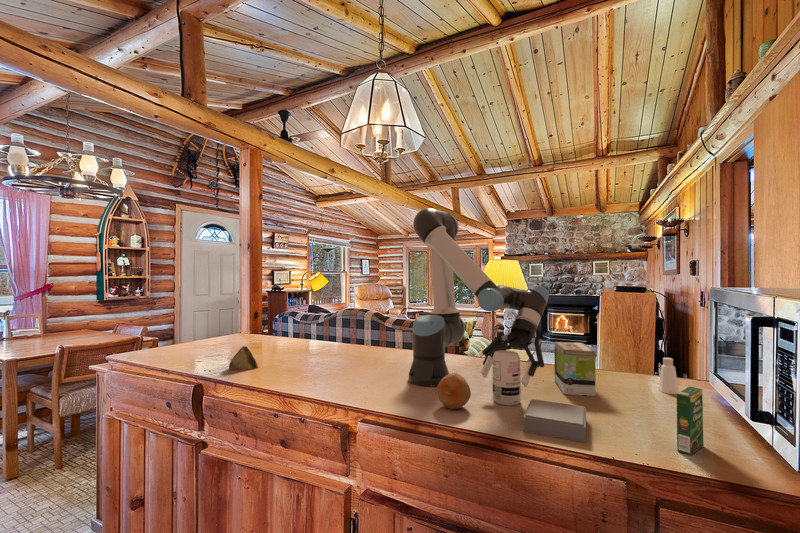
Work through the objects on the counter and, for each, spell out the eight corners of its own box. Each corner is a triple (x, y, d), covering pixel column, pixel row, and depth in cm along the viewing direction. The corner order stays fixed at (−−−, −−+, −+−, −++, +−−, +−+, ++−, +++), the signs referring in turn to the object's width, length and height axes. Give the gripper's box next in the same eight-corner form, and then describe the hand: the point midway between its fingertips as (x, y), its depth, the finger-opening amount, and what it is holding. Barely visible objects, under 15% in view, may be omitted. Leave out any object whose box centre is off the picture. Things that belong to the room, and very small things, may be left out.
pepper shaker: (657, 388, 127) (657, 355, 127) (677, 390, 124) (677, 357, 124) (659, 392, 122) (658, 359, 122) (679, 395, 119) (679, 361, 120)
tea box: (597, 396, 119) (596, 350, 119) (563, 395, 121) (562, 349, 121) (583, 383, 133) (583, 341, 133) (553, 381, 135) (553, 340, 136)
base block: (523, 431, 93) (523, 415, 93) (531, 412, 106) (531, 398, 106) (585, 442, 87) (585, 425, 87) (586, 421, 99) (586, 406, 99)
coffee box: (691, 457, 80) (690, 395, 80) (676, 451, 82) (675, 392, 82) (704, 446, 85) (703, 388, 85) (689, 442, 87) (688, 385, 87)
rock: (220, 364, 154) (235, 364, 148) (231, 346, 159) (245, 345, 153) (241, 375, 160) (255, 376, 155) (250, 357, 165) (264, 357, 160)
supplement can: (498, 395, 120) (498, 349, 121) (524, 400, 116) (523, 352, 116) (488, 402, 114) (488, 353, 114) (515, 408, 109) (515, 357, 109)
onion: (435, 401, 115) (435, 369, 115) (468, 402, 115) (467, 369, 115) (437, 413, 105) (437, 378, 105) (473, 414, 105) (472, 378, 105)
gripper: (566, 336, 117) (547, 395, 106) (496, 328, 135) (473, 378, 124) (559, 321, 113) (538, 380, 102) (488, 314, 131) (463, 365, 120)
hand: (502, 379), depth 113 cm, fingers open, 13 cm apart
